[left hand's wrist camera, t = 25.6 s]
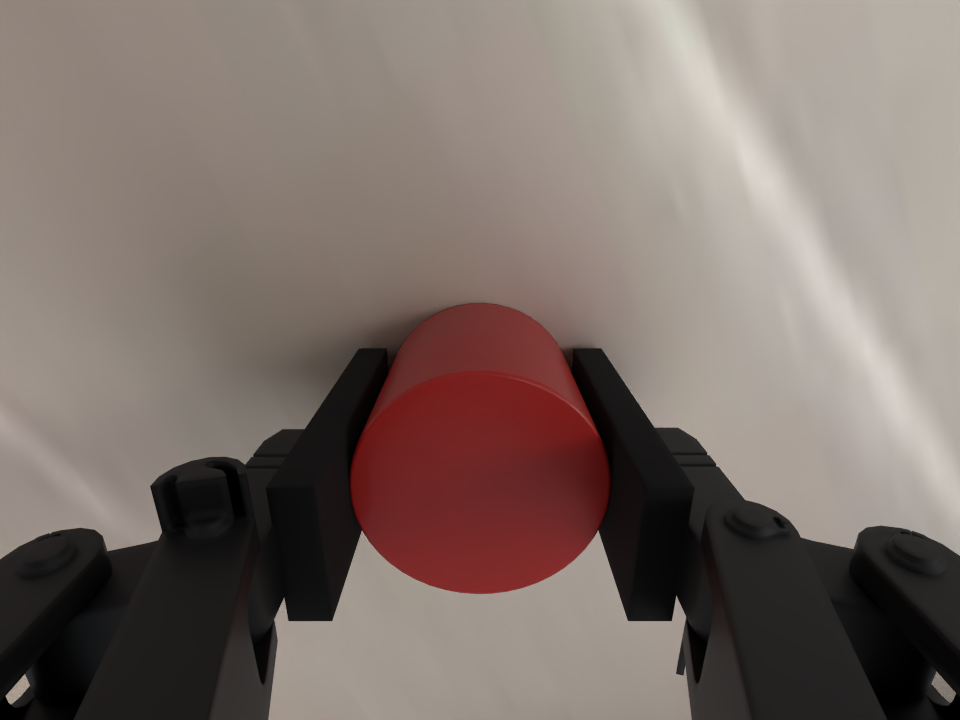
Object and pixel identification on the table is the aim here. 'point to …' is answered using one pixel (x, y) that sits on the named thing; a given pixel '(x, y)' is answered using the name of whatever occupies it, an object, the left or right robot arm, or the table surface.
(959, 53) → the table surface
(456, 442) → the red cylinder
